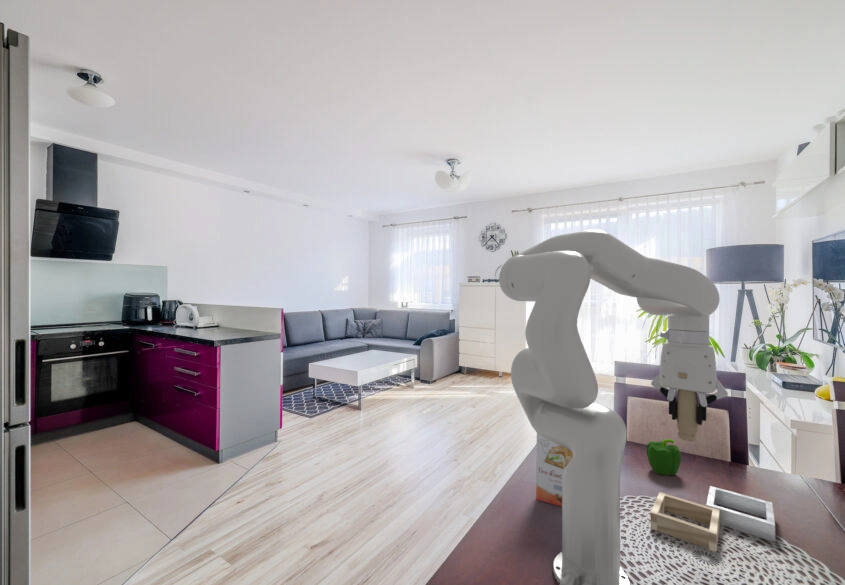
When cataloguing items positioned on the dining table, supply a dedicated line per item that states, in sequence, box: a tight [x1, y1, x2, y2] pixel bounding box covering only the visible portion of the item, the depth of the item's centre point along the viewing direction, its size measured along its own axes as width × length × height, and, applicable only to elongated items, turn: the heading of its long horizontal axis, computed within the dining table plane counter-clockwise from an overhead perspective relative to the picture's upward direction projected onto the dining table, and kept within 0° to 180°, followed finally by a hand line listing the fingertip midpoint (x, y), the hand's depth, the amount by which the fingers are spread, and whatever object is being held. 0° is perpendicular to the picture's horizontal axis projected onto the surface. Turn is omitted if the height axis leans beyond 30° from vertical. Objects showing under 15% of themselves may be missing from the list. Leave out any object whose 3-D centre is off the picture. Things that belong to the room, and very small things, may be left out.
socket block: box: [705, 485, 776, 543], centre depth 85 cm, size 11×11×4 cm
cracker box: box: [535, 432, 573, 508], centre depth 91 cm, size 14×6×21 cm, turn 60°
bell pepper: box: [646, 438, 682, 477], centre depth 108 cm, size 8×8×10 cm
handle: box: [676, 372, 699, 443], centre depth 82 cm, size 5×6×15 cm
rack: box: [650, 491, 721, 553], centre depth 82 cm, size 11×11×4 cm
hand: (687, 420), depth 82 cm, fingers closed on handle, 4 cm apart
